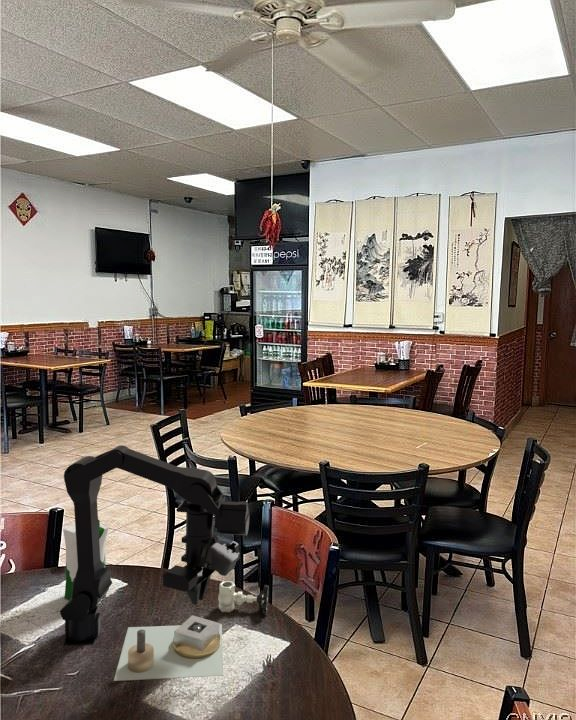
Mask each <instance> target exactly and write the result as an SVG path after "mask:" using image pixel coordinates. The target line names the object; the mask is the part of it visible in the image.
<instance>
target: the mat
mask: <svg viewBox="0 0 576 720" xmlns="http://www.w3.org/2000/svg"><path fill="white" fill-rule="evenodd" d="M181 625H182V624H181ZM181 625H179V624H178V625H161V626H159V625H157V626H153V625H152V626H130V627H129V626H128V627H127V631H126V635H125V638H124V642H123V645H122V649H121V653H120V655H119V656H120V657H119V660H118V664H117V667H116V672H115V675H114V678H113V681H114V682H119V681H138V680H156V679H157V680H158V679H160V680H161V679H178V678H197V677H198V678H200V677H217V676H218V677H219V676H220V677H221V676H224V658H223V657H224V655H223V654H224V652H223V651H224V649H223V624H222V623H220V625H219V634H220V647H219V649H218V650H217V651H216V652H215V653H214V654H212V655H210V656H208V657H205V658H201V659H188V658H184V657H181V656H179V655H178V654H177V653H176V652H175V651H174V649H173V638H174V631H175V630H176V629H178V628H179V627H180V626H181ZM138 630H145V643H147V644H150V645H152V646H153V648H154V663H153V666H152V668H151V669H149V670H148V671H145V672H141V673H135V672H132V671H130V670H129V669H128V651H129V649H130V648H131V647H132V646H134V645H136V644H137V631H138Z"/></svg>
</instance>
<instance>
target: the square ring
mask: <svg viewBox="0 0 576 720" xmlns="http://www.w3.org/2000/svg"><path fill="white" fill-rule="evenodd" d="M220 624H221V623H220V622H218V621H217V622H216V621H213V620H211V619H206V618H203V617H199V616H196V615H190V617H188V618H187V619H186V620H185V621H183V623H182V624H181V626H180V627H179V628H178V629H176V630H175V631H174V643H178V644H181V645H184V646H187V647H190V648H194V649H197V650H200V651H203V650H204V649H205V648H206V647H207V646H208V645H209V644H210V643H211V642H212V641H213V640H214V639H215V637H216V636H217V635H218V634H219V625H220ZM195 625H200V626H201V632H200V633H198V632H194V631H193V626H195Z"/></svg>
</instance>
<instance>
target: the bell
mask: <svg viewBox="0 0 576 720" xmlns="http://www.w3.org/2000/svg"><path fill="white" fill-rule="evenodd" d="M193 631H194V632H198V633H200V632H201V626H200V625H195V626H193ZM219 647H220V634H218V635H217V636H216V637H215V639H214V640H213V641H212V642H211V643H210V644H209V645H208V646H207V647H206V648H205V649H204V650H203V651H200V650H197V649H194V648H190V647H187V646H184V645H181V644H178V643H174V638H173V649H174V651H175V652H176V653H177V654H178V655H179V656H181V657H184V658H188V659H201V658H205V657H208V656H210V655H212V654H214V653H215V652H216V651H217V650H218V649H219Z"/></svg>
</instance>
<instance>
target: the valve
mask: <svg viewBox="0 0 576 720" xmlns="http://www.w3.org/2000/svg"><path fill="white" fill-rule="evenodd" d="M269 586H270V585H267V584H264V585H263V590H260V592H259V593H258V594H257V595H256V596H254V595H253V594H247V595H246V594H243V591H242V590H241V591H237V592H236V584H235V583H234V581H230V580H224V581H221V582H220V583H219V586H218V587H219V588H218V590H219V592H218V596H217V600H218V609H219V610H220V612H221V613H231V612H233V611H234V610H235V604H236V605H237V606H238V605H239V606H241V605H242V604H243V603H245V602H247V603H251V604H252V603H253V602H256V604H257V605H258V607H259V609H262V613H261V614H262V615H267V614H268V606H269V594H270V591H269V589H270V588H269Z"/></svg>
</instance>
